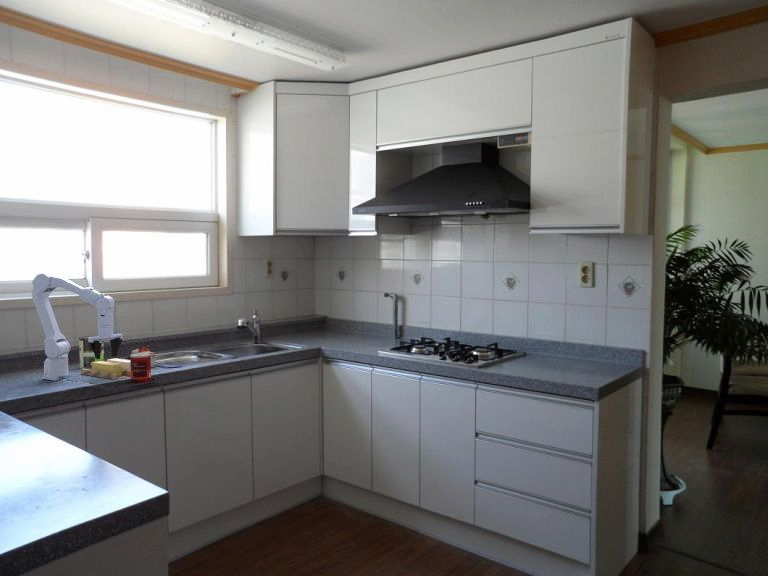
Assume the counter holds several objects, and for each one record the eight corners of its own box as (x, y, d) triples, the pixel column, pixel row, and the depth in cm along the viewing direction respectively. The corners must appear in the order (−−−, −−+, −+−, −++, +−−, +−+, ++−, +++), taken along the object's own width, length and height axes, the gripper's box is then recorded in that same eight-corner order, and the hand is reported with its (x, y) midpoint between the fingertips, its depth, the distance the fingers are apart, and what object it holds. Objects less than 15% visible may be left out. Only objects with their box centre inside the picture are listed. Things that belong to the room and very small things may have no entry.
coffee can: (109, 366, 279) (108, 335, 278) (91, 369, 269) (90, 338, 268) (92, 364, 282) (91, 334, 282) (74, 368, 273) (73, 337, 272)
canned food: (144, 378, 250) (144, 352, 250) (154, 381, 245) (154, 354, 245) (127, 381, 244) (126, 354, 244) (137, 384, 239) (136, 356, 239)
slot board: (81, 377, 252) (81, 369, 252) (114, 371, 266) (114, 363, 265) (114, 383, 241) (114, 374, 241) (147, 376, 254) (147, 368, 254)
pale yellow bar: (92, 374, 252) (91, 362, 252) (100, 372, 255) (100, 360, 255) (113, 377, 245) (112, 365, 245) (121, 375, 248) (121, 363, 248)
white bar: (107, 371, 258) (107, 359, 258) (115, 369, 262) (115, 358, 261) (128, 374, 251) (128, 362, 251) (136, 372, 255) (136, 361, 254)
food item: (158, 369, 270) (157, 348, 269) (140, 372, 264) (140, 350, 263) (145, 366, 279) (144, 345, 279) (127, 368, 273) (127, 346, 273)
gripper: (95, 327, 241) (96, 360, 241) (127, 324, 253) (127, 355, 254) (84, 326, 244) (85, 359, 245) (116, 323, 257) (117, 354, 258)
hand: (106, 357), depth 250 cm, fingers open, 7 cm apart
